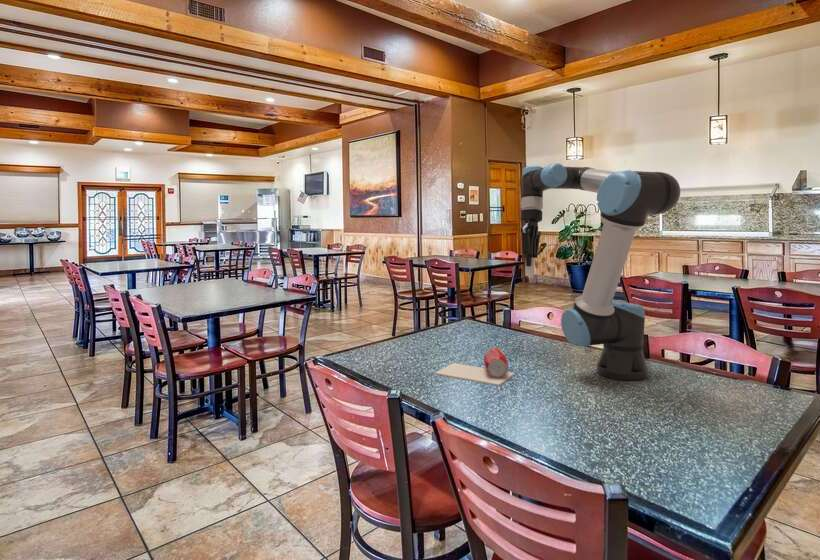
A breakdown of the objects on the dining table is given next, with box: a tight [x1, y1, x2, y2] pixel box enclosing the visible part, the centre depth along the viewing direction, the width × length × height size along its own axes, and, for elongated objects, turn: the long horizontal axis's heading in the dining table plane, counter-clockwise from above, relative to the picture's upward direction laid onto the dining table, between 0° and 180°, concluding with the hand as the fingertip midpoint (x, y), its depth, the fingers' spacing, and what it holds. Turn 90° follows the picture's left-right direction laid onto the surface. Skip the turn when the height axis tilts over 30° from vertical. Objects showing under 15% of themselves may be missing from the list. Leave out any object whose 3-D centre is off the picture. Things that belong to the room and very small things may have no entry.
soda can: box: [483, 347, 509, 378], centre depth 160 cm, size 7×7×12 cm
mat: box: [434, 362, 515, 387], centre depth 161 cm, size 22×13×1 cm, turn 58°
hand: (529, 275), depth 179 cm, fingers closed
